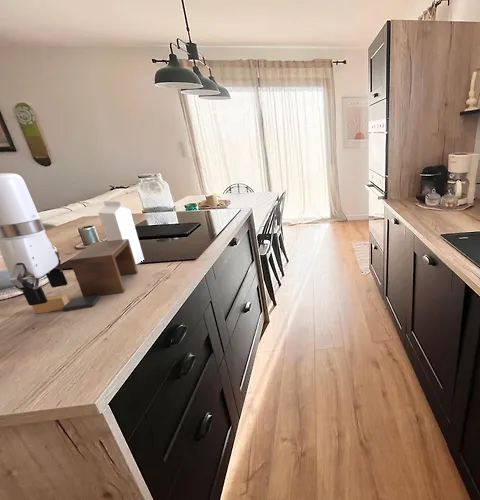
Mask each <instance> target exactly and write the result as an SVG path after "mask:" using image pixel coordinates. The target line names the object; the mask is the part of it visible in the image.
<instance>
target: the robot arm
mask: <svg viewBox="0 0 480 500" xmlns="http://www.w3.org/2000/svg"><path fill="white" fill-rule="evenodd" d="M45 232H46V229H45V226H44V224H43V222H42V220H41V217H40V215H39V212H38V210H37V207H36V205H35V203H34V200H33V198H32V195H31V193H30V191H29V188H28V187H27V184H26V181H25V180H24V178H23V177H22V176H21V175H19V174H17V173H13V172H5V173H4V172H2V173H0V253H1V257H2V260H3V262H4V265H5V268H6V269H7V272H8V274H9V276H10V277H9V282H11V283H12V285H14V287H15V289H18V290H19V291H20V293H21V292H22V293H23V296H24V298H25V300H26V301H27V304H28V305H29V306H32V305H38V304H43V303H46V302H47V301H48V300H47V298H46V297H47V296H46V294H45V292H44V289H43V287H42V286H39V285H40V278H42V277H44V276H46V278H47V280H48V282H49V285H50V287H52V288H59V287H65V286H67V285H68V284H69V283H68V281H67V278H66V276H65V274H64V271H63V267H62V265H61V262H62V261H61V259H60V253H59V251H56V250H55V249H54V247H53V244H52V243H51V241H50V238H49V237H48V236H47V234H46V233H45ZM29 281H32V282H29Z"/></svg>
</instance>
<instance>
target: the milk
mask: <svg viewBox="0 0 480 500" xmlns="http://www.w3.org/2000/svg"><path fill="white" fill-rule="evenodd" d="M103 205H104V206H103V207H102V208H101V209H100V210H99V211H98V212H97V214H98V217H99V219H100V222H101V226H102V229H103V233H104V235H105V238H106V241H112V240H122V239H128V240H129V243H130V246H131V250H132V253H133V257H134V260H135V263H136V265H138V264H141V263H142V262H144V261H145V257H144V254H143V250H142V247H141V243H140V240H139V237H138V236H139V235H138V232H137V229H136V226H135V222H134V218H133V214H132V211H131V209H130V208H128V207H124V206H123V205H122V203H121V201H114V200H112V201H111V200H104V201H103ZM143 260H144V261H143ZM141 261H142V262H141Z"/></svg>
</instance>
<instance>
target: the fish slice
mask: <svg viewBox="0 0 480 500" xmlns="http://www.w3.org/2000/svg"><path fill="white" fill-rule="evenodd" d="M101 297H102V296H100V295H93V296H87V297H83V296H81V297H80V296H79V297H75V298H71V299H69V296H68V293H63V294H56V295H55V294H54V295H49V296H46V298H47V300H48V301H47V302H46V303H43V304H38V305H31V307H32V309H33V311H34V313H35V314H36V315H38V314H43V313H50V312H55V311H56V312H57V311H61V310H62V311H63V312H68V311H75V310H80V309H86V308H93V307H94V306H95V305H96V304H97V302H98V301H100V299H101Z"/></svg>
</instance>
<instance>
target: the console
mask: <svg viewBox="0 0 480 500" xmlns="http://www.w3.org/2000/svg"><path fill="white" fill-rule="evenodd" d="M69 262H70V266H71V268H72V270H73V273H74V276H75V278H76V281H77V283H78V287H79V289H80V291H81V294H82V297H87V296H93V295H100V297H103V296H110V295H111V296H112V295H116V294H123V293H125V292H126V288H125V285H124V282H123V279H122V277H123V276H129V275H136V274H137V275H138V273H139V271H138V267H137V264H136V263H135V260H134V257H133V253H132V250H131V246H130V243H129V240H128V239H122V240H112V241H107V240H104V241H94V242H92V243H90V244H89V245H88V246H86V247H85V248H83V249H82V250H81V251H79V252H78V253H77V254H75V255H74V256H73V257H71V258H69Z"/></svg>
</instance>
